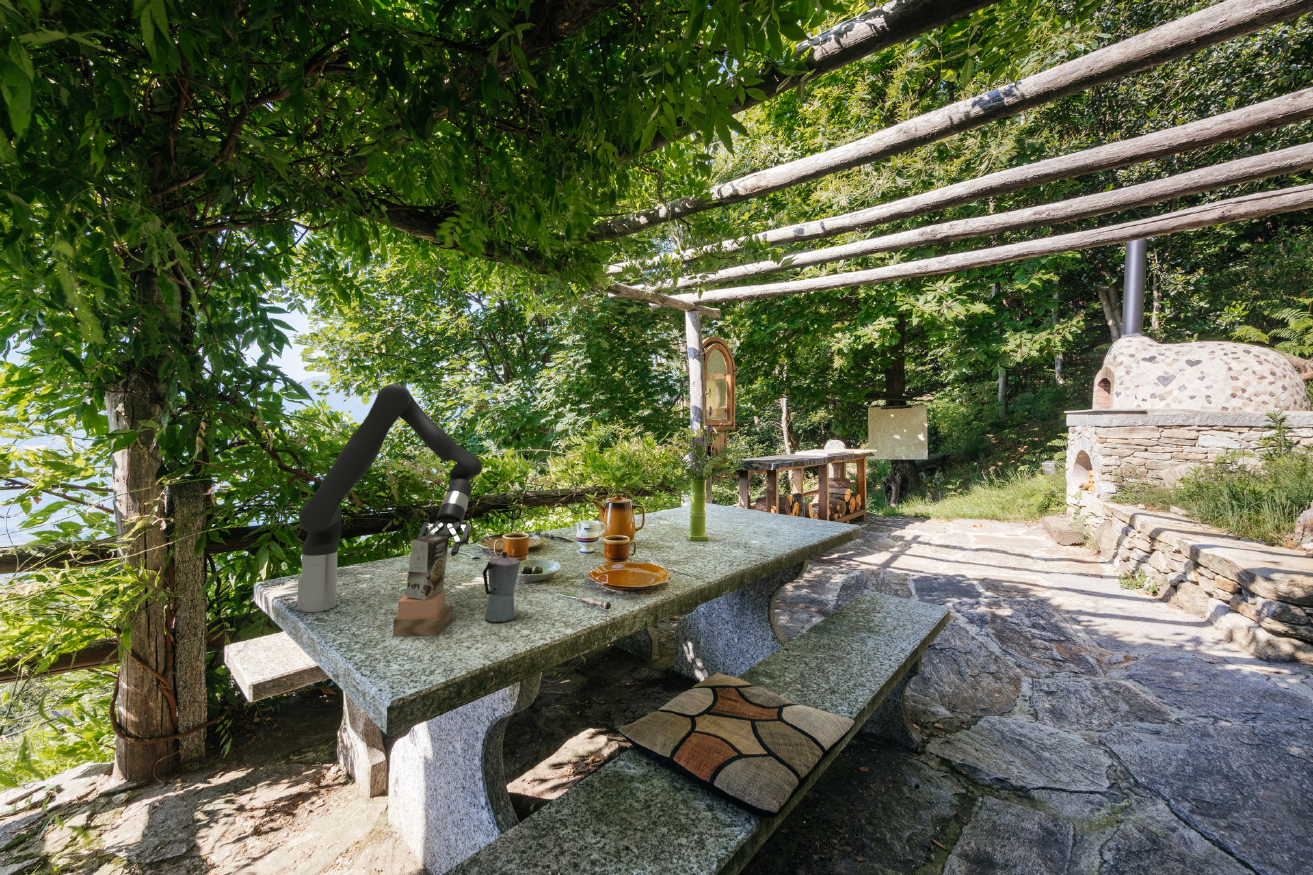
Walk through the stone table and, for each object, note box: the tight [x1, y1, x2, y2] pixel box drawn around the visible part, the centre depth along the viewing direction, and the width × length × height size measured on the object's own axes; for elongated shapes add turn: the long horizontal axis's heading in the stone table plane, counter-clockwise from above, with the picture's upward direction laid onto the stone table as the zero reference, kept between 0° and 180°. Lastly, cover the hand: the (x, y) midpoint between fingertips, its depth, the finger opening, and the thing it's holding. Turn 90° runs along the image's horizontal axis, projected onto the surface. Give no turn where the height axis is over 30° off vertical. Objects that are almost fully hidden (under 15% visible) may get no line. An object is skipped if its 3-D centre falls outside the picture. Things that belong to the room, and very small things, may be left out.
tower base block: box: [392, 604, 454, 638], centre depth 148 cm, size 12×12×5 cm
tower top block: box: [397, 589, 446, 620], centre depth 147 cm, size 10×10×5 cm
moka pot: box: [482, 551, 521, 623], centre depth 157 cm, size 10×15×20 cm, turn 161°
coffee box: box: [405, 533, 450, 600], centre depth 148 cm, size 9×6×16 cm
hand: (438, 554), depth 151 cm, fingers open, 8 cm apart
